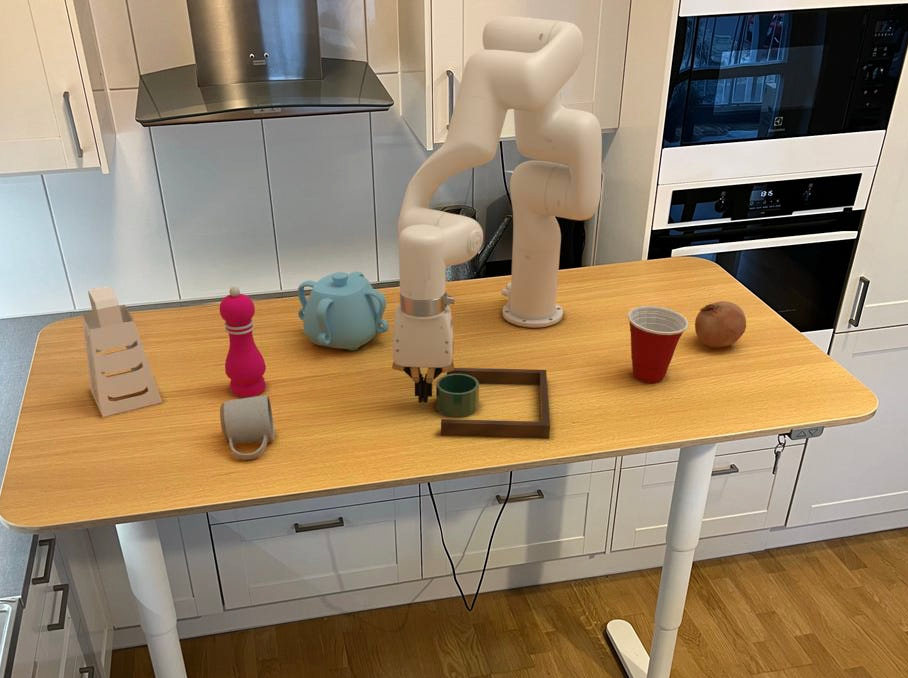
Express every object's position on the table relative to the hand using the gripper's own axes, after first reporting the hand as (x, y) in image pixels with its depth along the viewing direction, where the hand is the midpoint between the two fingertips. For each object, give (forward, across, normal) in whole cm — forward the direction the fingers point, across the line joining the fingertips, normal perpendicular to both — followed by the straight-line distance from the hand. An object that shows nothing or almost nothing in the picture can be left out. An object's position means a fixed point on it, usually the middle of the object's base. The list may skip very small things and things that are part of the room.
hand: (423, 399), depth 163 cm
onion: (+1, -56, -27) cm, 62 cm away
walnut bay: (+2, -12, -1) cm, 12 cm away
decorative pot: (+2, +18, -26) cm, 32 cm away
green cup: (+2, -6, 0) cm, 6 cm away
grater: (+2, +54, 0) cm, 54 cm away
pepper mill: (+2, +33, -4) cm, 33 cm away
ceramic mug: (+2, +28, +14) cm, 31 cm away
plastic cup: (+1, -41, -14) cm, 43 cm away
